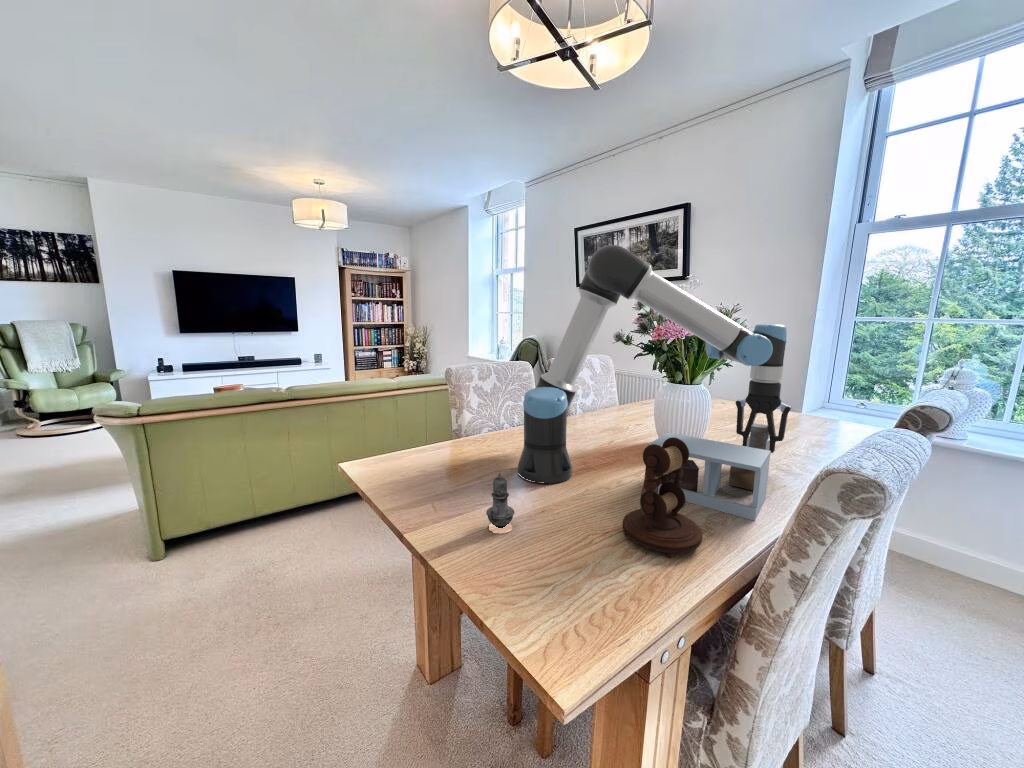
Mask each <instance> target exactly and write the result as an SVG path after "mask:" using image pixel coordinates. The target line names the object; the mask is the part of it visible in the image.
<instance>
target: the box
mask: <svg viewBox="0 0 1024 768" xmlns="http://www.w3.org/2000/svg"><path fill="white" fill-rule="evenodd" d="M681 469H682V470H683V476H682V478H681V480H679V482H680V486H681V488H682V489H685V490H689V491H693V492H697V493H698V487H699V486H698V485H699V472H700V468H699V466H698V465H697V464H696V462H695V461H694V460H693V459H688V461H687V462H686V463H685V464H684V465H682V467H681ZM668 482H672V483H674V479H671V480H670V481H668Z"/></svg>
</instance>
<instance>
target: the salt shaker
mask: <svg viewBox="0 0 1024 768" xmlns="http://www.w3.org/2000/svg"><path fill="white" fill-rule="evenodd" d="M509 496H510V494H509V492H508V480H507V479H506V478H505V477H503V476H502V474H501V473H498V476H497V477H495V478H494V479H493V481H492V493H491V497H492V506H491V507H489V508H488V509H487V510H486V512H485V514H486V516H487V519H488V521H489V523H490V524H491V523H492V524H493V525H495V526H496V527H498V528H503V527H505V526H506V525H507V524H509V523H511V522H512V520H513V517H514V515H515V509H514V508H513V507H511V506H509V504H508V498H509Z"/></svg>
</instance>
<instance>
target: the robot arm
mask: <svg viewBox="0 0 1024 768" xmlns="http://www.w3.org/2000/svg"><path fill="white" fill-rule="evenodd" d="M578 292H579V295H580V298H579V300H578V303H577V305H576V308H575V310H574V312H573V314H572V317H571V318H570V322H569V324H568V325H567V328H566V330H565V333H564V335H563V337H562V339H561V341H560V344H559V346H558V348H557V351H556V352H555V355H554V358H553V360H552V362H551V365H550V367H549V370H548V371H547V372H545V373H543V374H541V375H540V378H539V380H538V382H537V385H536V386H535V387H534V388H531V389H529V390H527V391H526V392H525V394H524V396H523V403H522V407H523V448H522V451H521V455H520V457H519V461H518V463H517V474H518V473H519V474H520V475H521V476H522V477H524V478H525V479H528V480H531V481H535V482H544V483H554V484H557V483H556V482H560V483H563V482H566V481H568V480H570V478H572V476H573V465H572V462H571V459H570V455H569V453H568V449H567V428H568V427H567V424H568V422H567V421H568V420H567V419H568V411H569V409H570V406H571V404H572V402H573V399H574V397H575V395H576V393H577V387H576V385H575V383H576V380H577V379H578V377H579V374H580V371H581V370H582V368H583V366H584V364H585V361H586V360H587V356H588V354H589V352H590V350H591V348H592V346H593V343H594V341H595V339H596V337H597V335H598V333H599V331H600V328H601V326H602V324H603V322H604V320H605V317H606V315H607V313H608V311H609V309H611V308H612V307H615V306H617V304H618V301H619V300H620V298H621V296H622V297H623V298H625V299H627V300H632V299H635V300H636V301H638V302H640V303H641V304H642V305H644V306H646V307H648V308H650V309H651V310H653V311H654V312H656V313H657V314H660V315H661V316H663V317H664V318H666V319H668V320H669V321H671V322H672V323H674V324H676V325H678V326H679V327H680V328H682V329H685V330H686V331H688V332H689V333H690V334H693V335H694V336H695V337H697V338H699V339H700V340H702V341H703V342H705V354H706V356H707V357H708V359H709V358H710V359H715V360H720V359H721V360H730V361H733V362H736V363H740V364H741V365H744V366H747V367H750V373H749V378H750V380H749V382H748V383H749V384H748V392H747V393H748V394H747V396H746V397H745V398H744V399H737V400H736V401H735V406H736V408H737V412H736V413H737V414H736V430H735V431H736V434H737V435H739V436H742V445H741V446H746V447H749V442H750V432H751V426H752V425H753V424H754V423H755V421H756V417H757V415H758V414H763V415H765V418H766V422H767V425H768V430H769V439H768V440H767V442H766V450H769V451H771V454H773V453H774V452H775V451H776V450H775V449H776V442H783V440H784V439H785V433H786V429H787V428H786V427H787V422H788V417H789V416H788V415H789V412H790V411H791V410H792V406H791V405H790V404H789V405H788V404H785V403H784V402H782V400H781V392H782V391H781V389H782V383H781V381H782V379H783V371H784V370H783V369H784V362H785V361H784V360H785V359H784V358H785V352H786V345H787V342H788V340H787V333H788V332H787V327H786V325H784V324H778V323H777V324H775V323H774V324H773V323H769V324H767V323H766V324H765V323H764V324H763V323H762V324H756V325H755V326H754V329H753V331H751V330H749V329H747V328H746V327H745V326H743V325H741V324H739V323H738V322H736V321H734V320H733V319H731V318H729V317H728V316H726V315H724V313H721V312H720V311H718V310H716V309H714V308H713V307H712V306H710V305H708V304H707V303H705V302H703V301H702V300H700V299H698V298H697V297H695V296H693V295H692V294H690V293H689V292H687V291H686V290H683V289H682V288H680V287H679V286H677V285H675V284H673V283H672V282H670V281H669V280H667V279H665V278H664V277H662V276H660V275H659V274H657V273H656V272H653V268H652V265H651V264H649V263H648V262H646V261H644V260H643V259H641V258H640V257H638V256H637V255H635V254H634V253H632V252H631V251H630V250H628V249H627V248H625V247H623V246H621V245H617V244H609V245H604V246H603V247H600V248H598V250H596V251H595V252H594V253H593V254H592V256H591V258H590V260H589V263H588V266H587V269H586V271H585V274H584V276H583V279H582V280H581V282H580V286H579V287H578ZM746 405H748V407H749V408H750V409H751V411H750V414H749V417H748V421H747V424H746V426H745V429H744V415H745V406H746ZM779 407H780V412H781V416H780V420H779V421H780V422H779V428H778V433H777V434H776V425H775V421H774V420H775V419H774V411H776V409H778V408H779ZM567 479H568V480H567ZM565 480H566V481H565ZM562 481H563V482H562Z"/></svg>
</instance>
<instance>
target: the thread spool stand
mask: <svg viewBox="0 0 1024 768" xmlns="http://www.w3.org/2000/svg"><path fill="white" fill-rule="evenodd" d="M642 452H643V453H642V460H643V464H644V466H645V471H644V478H643V483H642V487H641V493H640V499H639V505H640V508H639V509H635V510H633V511H630V512H628V513H627V514H626V515H625V516H624V517H623V519H622V530H623V534H624V537H627V538H629V540H631V541H633V542H634V543H635V544H638V545H640V546H642V547H644V548H646V549H650V550H653V551H656V552H663V553H666V556H667V558H668V559H671V558H672V557H673V556H674V554H680V553H688V552H692V551H694V550H696V549H697V548H699V547H700V546H701V545H702V542H703V530H702V529H701V527H700V526H699V525H698V524H697V523H696V522H695V521H693V519H690V518H689V517H687V516H686V515H684V514H681V513H679V512H680V510H682V509H683V508H684V507H685V505H686V499H685V494H684V492H683V490H682V489H681V486H680V482H679V480H681V478H682V476H683V470H682V469H681V467H682V465H684V464H685V463H686V462H687V461H688V460H690V457H689V450H688V447H687V445H686V444H685V443H684V442H683V441H682V440H680V439H678V438H674V437H672V438H668V439H667V440H665V442H664V443H663V445H662V447H661V446H659V445H656V444H651V445H649V446H648V445H647V446H646V447H645V448H644V450H643V451H642ZM671 479H674V483H672V482H668V481H670V480H671ZM660 484H662V485H661V486H660V489H659V494H658V486H659V485H660Z"/></svg>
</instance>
